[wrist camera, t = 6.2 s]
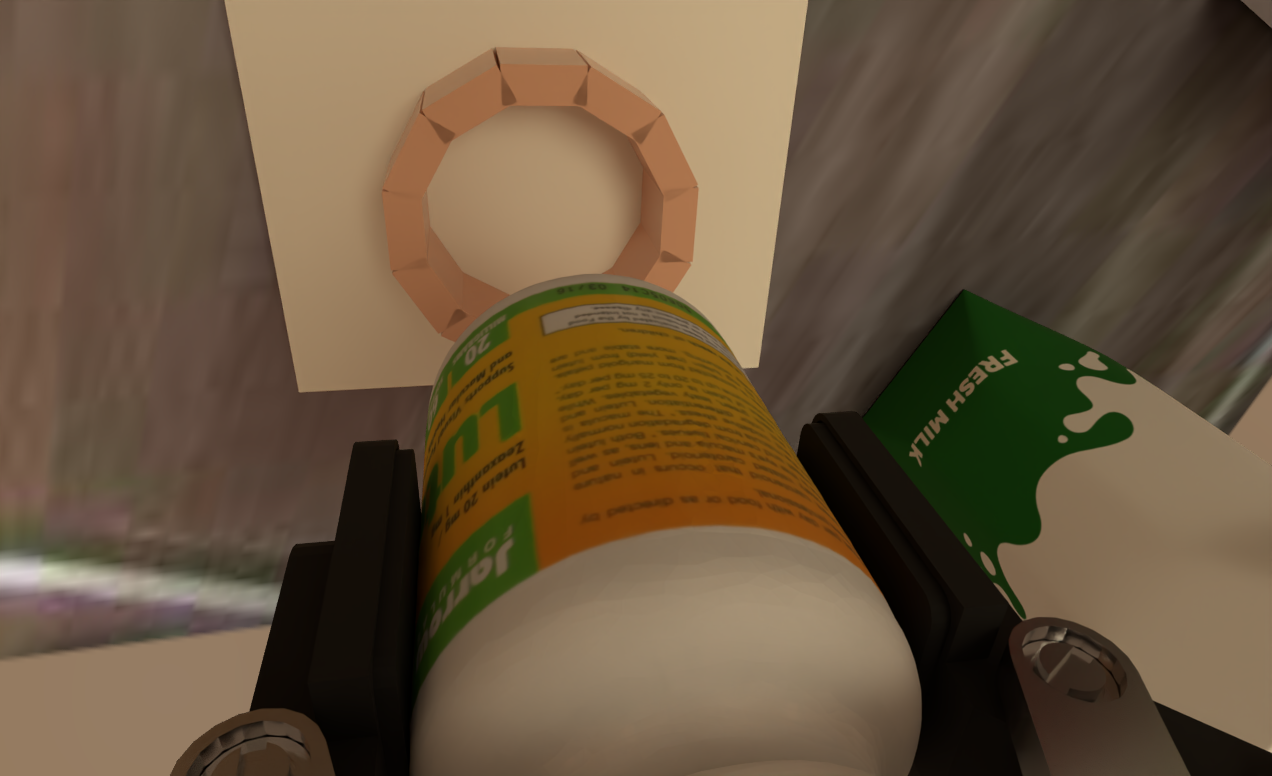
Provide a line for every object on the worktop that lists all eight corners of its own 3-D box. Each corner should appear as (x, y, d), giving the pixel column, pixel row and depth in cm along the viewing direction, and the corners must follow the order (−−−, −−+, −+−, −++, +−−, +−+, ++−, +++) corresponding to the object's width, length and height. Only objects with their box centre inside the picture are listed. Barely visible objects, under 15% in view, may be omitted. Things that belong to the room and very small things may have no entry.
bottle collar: (377, 44, 22) (366, 61, 20) (681, 50, 24) (708, 67, 21) (407, 327, 26) (402, 372, 24) (663, 317, 28) (684, 357, 26)
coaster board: (228, -55, 22) (214, -53, 20) (793, -32, 25) (812, -29, 23) (306, 370, 28) (299, 392, 27) (746, 348, 31) (758, 367, 30)
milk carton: (969, 499, 38) (1391, 983, 21) (824, 432, 34) (1190, 951, 17) (1104, 348, 34) (1729, 768, 18) (960, 256, 31) (1573, 674, 14)
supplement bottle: (453, 235, 12) (450, 912, 4) (774, 294, 14) (1249, 867, 6) (407, 516, 15) (348, 1295, 6) (685, 539, 16) (922, 1190, 8)
